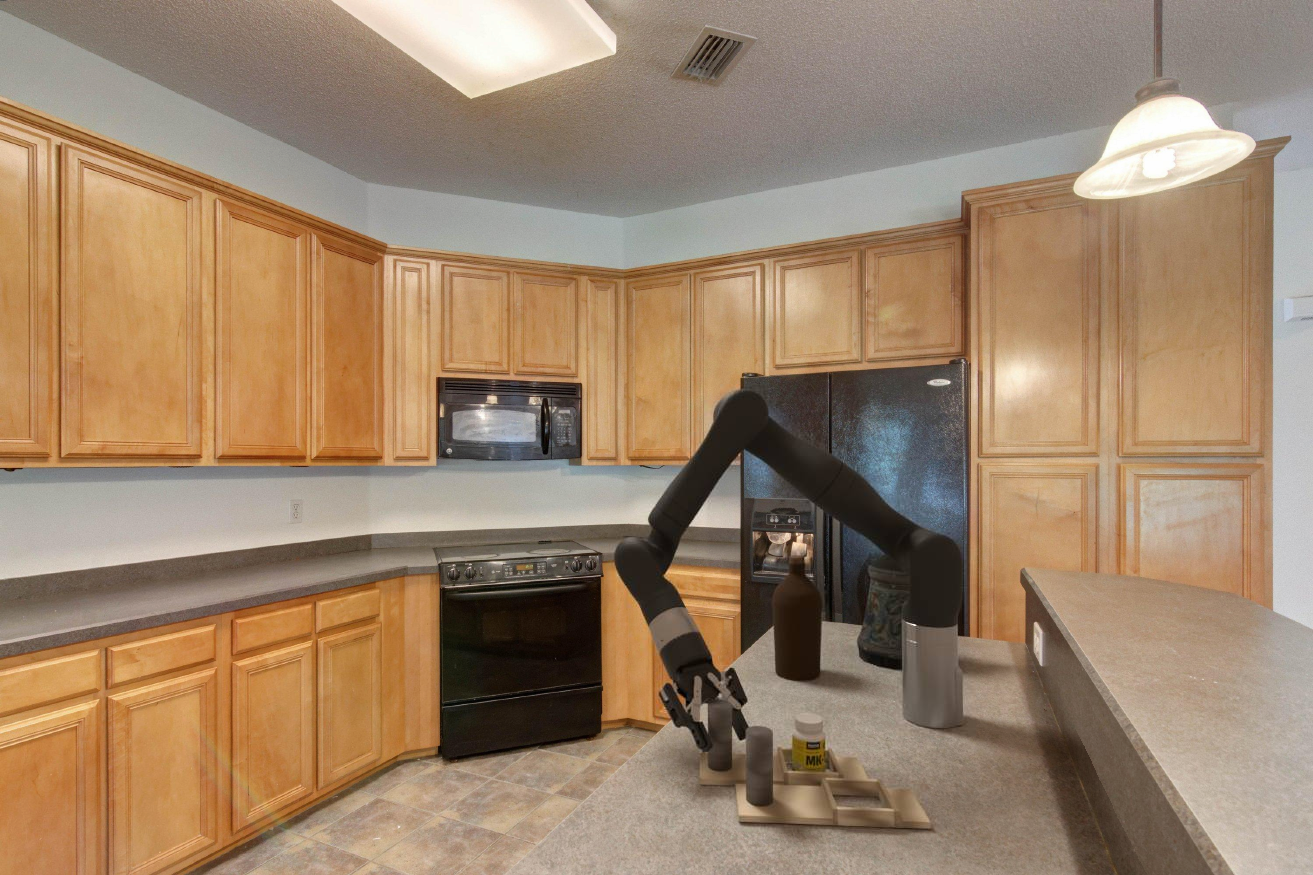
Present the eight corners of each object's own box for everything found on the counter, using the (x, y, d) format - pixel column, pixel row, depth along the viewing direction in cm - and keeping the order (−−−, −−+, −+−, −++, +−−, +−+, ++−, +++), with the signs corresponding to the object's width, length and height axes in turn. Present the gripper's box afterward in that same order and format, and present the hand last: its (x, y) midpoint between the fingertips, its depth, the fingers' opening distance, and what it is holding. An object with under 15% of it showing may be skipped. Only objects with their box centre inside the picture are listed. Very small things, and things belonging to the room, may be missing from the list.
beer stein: (842, 651, 154) (842, 546, 155) (911, 644, 160) (910, 542, 161) (887, 674, 138) (886, 556, 139) (961, 665, 144) (960, 552, 145)
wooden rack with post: (857, 762, 99) (857, 697, 99) (871, 789, 91) (870, 719, 91) (699, 757, 100) (699, 693, 101) (699, 784, 92) (699, 714, 93)
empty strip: (910, 794, 90) (909, 723, 90) (930, 828, 82) (930, 749, 82) (735, 788, 91) (735, 718, 91) (738, 821, 83) (738, 744, 83)
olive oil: (784, 684, 133) (784, 561, 133) (764, 667, 143) (764, 553, 144) (832, 680, 135) (831, 559, 136) (809, 663, 145) (808, 551, 146)
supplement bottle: (806, 786, 92) (806, 726, 92) (785, 771, 96) (785, 714, 97) (832, 778, 94) (832, 720, 95) (810, 764, 99) (810, 708, 99)
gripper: (651, 637, 99) (699, 744, 89) (724, 623, 107) (775, 720, 97) (633, 663, 103) (677, 768, 93) (704, 647, 111) (751, 742, 101)
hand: (727, 743), depth 95 cm, fingers open, 6 cm apart
